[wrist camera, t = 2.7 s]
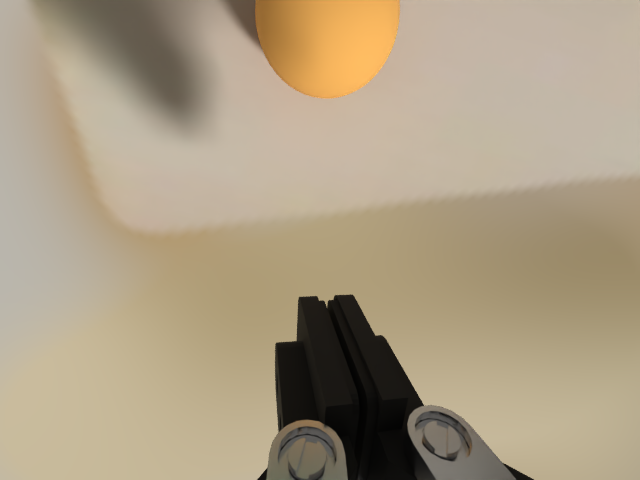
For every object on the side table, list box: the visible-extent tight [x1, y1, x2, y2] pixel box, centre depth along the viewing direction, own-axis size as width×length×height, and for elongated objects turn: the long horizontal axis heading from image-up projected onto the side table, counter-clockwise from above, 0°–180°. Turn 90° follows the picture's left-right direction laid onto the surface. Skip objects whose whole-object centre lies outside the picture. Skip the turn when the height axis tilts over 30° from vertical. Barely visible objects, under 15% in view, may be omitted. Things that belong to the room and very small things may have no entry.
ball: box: [255, 0, 400, 98], centre depth 12 cm, size 6×6×6 cm
